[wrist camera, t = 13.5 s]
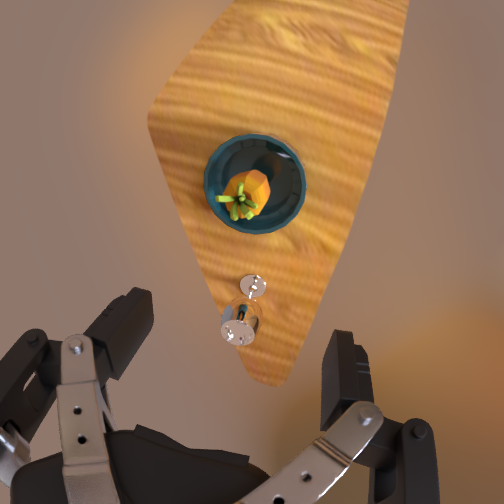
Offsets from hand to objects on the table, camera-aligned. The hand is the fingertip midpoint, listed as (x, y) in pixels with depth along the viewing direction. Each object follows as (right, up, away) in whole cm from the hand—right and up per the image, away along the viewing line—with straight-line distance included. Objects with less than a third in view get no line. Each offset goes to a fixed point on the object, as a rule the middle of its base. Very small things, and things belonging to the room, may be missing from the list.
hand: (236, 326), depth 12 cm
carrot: (+2, +14, +29) cm, 32 cm away
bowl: (+2, +14, +29) cm, 32 cm away
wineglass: (+1, -2, +37) cm, 37 cm away
